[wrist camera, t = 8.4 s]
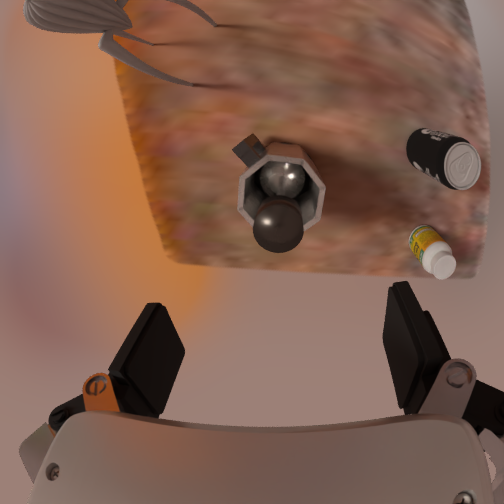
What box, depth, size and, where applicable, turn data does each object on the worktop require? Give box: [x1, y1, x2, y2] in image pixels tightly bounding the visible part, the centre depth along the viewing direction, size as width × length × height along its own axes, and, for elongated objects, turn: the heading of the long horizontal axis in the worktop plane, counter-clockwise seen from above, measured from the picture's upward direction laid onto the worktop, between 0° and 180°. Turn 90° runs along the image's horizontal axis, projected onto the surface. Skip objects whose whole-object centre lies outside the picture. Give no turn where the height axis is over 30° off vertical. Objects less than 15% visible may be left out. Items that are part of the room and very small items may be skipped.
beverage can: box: [406, 128, 481, 190], centre depth 30 cm, size 7×7×12 cm
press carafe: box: [232, 134, 326, 231], centre depth 35 cm, size 12×9×12 cm
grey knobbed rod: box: [253, 161, 305, 253], centre depth 31 cm, size 6×6×18 cm
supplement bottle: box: [409, 225, 456, 279], centre depth 38 cm, size 5×5×10 cm
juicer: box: [23, 0, 217, 87], centre depth 19 cm, size 10×9×30 cm
